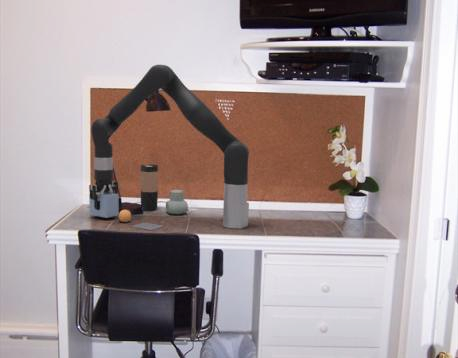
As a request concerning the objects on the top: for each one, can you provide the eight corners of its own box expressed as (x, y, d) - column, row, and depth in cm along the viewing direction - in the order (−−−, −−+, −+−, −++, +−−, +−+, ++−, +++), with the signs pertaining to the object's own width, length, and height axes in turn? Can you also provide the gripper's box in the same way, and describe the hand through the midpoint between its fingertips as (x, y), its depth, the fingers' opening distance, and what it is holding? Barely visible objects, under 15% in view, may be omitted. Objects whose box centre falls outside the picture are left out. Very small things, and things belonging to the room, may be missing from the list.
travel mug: (154, 212, 224) (154, 166, 221) (137, 210, 226) (138, 165, 223) (160, 208, 231) (160, 164, 228) (144, 207, 233) (144, 164, 230)
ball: (133, 221, 205) (133, 209, 204) (125, 224, 201) (125, 211, 200) (124, 220, 208) (124, 207, 207) (115, 222, 203) (115, 209, 203)
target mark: (164, 226, 199) (164, 226, 199) (151, 230, 192) (151, 230, 192) (144, 222, 204) (144, 222, 204) (131, 226, 197) (131, 226, 197)
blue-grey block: (118, 215, 210) (118, 194, 209) (106, 217, 205) (106, 196, 203) (101, 211, 215) (101, 191, 214) (89, 214, 210) (89, 193, 208)
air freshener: (164, 211, 227) (165, 189, 225) (183, 210, 229) (183, 188, 228) (169, 216, 217) (170, 193, 215) (188, 215, 219) (189, 192, 218)
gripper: (97, 170, 199) (97, 212, 202) (123, 167, 211) (123, 206, 214) (83, 169, 203) (84, 209, 206) (109, 165, 215) (110, 204, 218)
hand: (104, 208), depth 210 cm, fingers closed on blue-grey block, 6 cm apart
